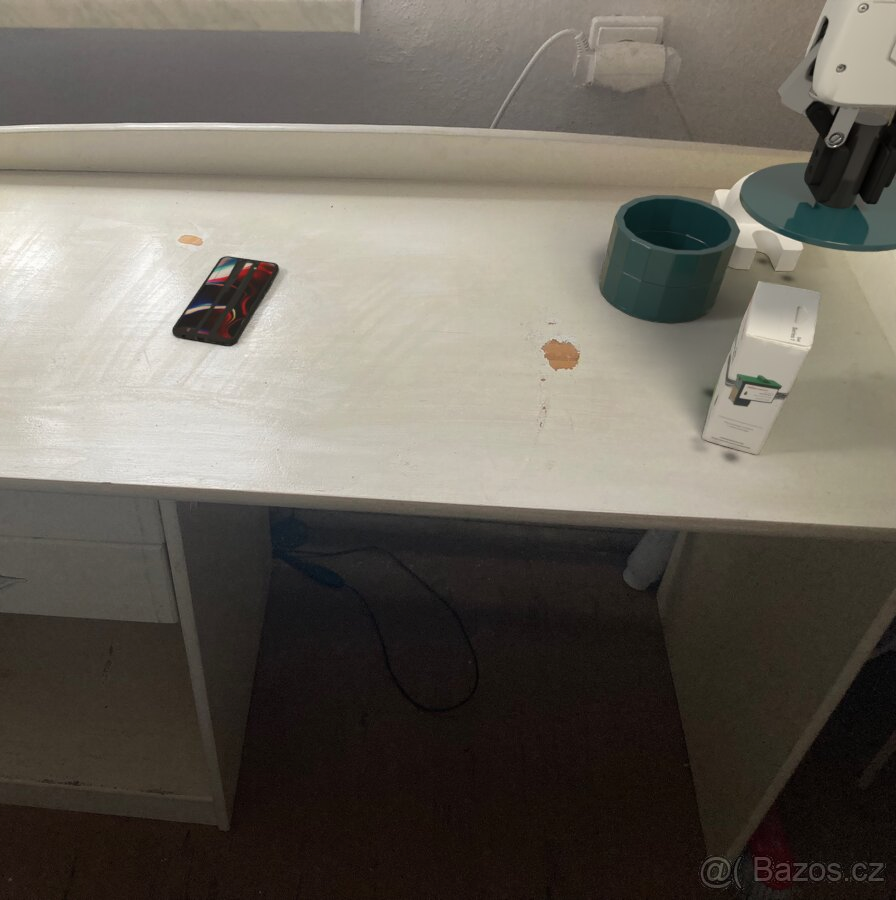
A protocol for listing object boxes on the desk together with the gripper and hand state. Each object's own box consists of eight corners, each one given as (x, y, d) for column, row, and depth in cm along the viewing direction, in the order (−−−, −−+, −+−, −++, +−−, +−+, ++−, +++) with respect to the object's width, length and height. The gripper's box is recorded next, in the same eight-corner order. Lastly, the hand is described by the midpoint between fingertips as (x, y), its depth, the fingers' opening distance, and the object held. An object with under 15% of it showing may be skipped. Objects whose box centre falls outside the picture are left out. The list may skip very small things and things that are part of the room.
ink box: (714, 382, 81) (757, 274, 72) (772, 397, 79) (822, 288, 71) (699, 440, 75) (744, 331, 67) (761, 457, 74) (814, 347, 65)
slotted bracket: (796, 271, 93) (824, 205, 88) (728, 268, 94) (752, 203, 89) (768, 211, 102) (792, 148, 97) (707, 209, 103) (727, 146, 98)
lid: (935, 187, 64) (979, 99, 60) (928, 268, 56) (977, 174, 52) (754, 156, 69) (781, 73, 65) (724, 228, 61) (753, 138, 57)
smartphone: (169, 331, 88) (221, 254, 99) (169, 337, 89) (222, 259, 99) (234, 342, 87) (281, 263, 97) (235, 348, 87) (281, 268, 97)
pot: (724, 276, 93) (748, 209, 87) (702, 334, 86) (727, 265, 80) (615, 251, 97) (632, 186, 92) (586, 305, 90) (602, 237, 85)
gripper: (831, -89, 48) (730, 216, 60) (1163, -93, 45) (985, 225, 58) (797, -118, 53) (711, 167, 66) (1093, -123, 50) (944, 174, 63)
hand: (841, 192), depth 62 cm, fingers closed on lid, 2 cm apart
